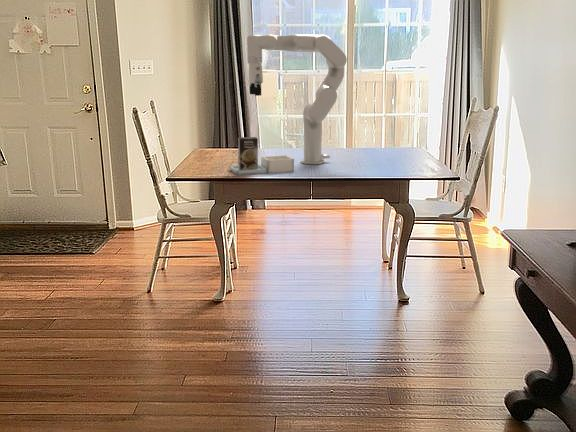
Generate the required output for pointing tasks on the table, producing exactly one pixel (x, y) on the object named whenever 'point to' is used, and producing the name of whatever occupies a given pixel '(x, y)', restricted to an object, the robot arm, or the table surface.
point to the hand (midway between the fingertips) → (255, 94)
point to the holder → (277, 163)
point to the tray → (244, 172)
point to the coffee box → (247, 153)
